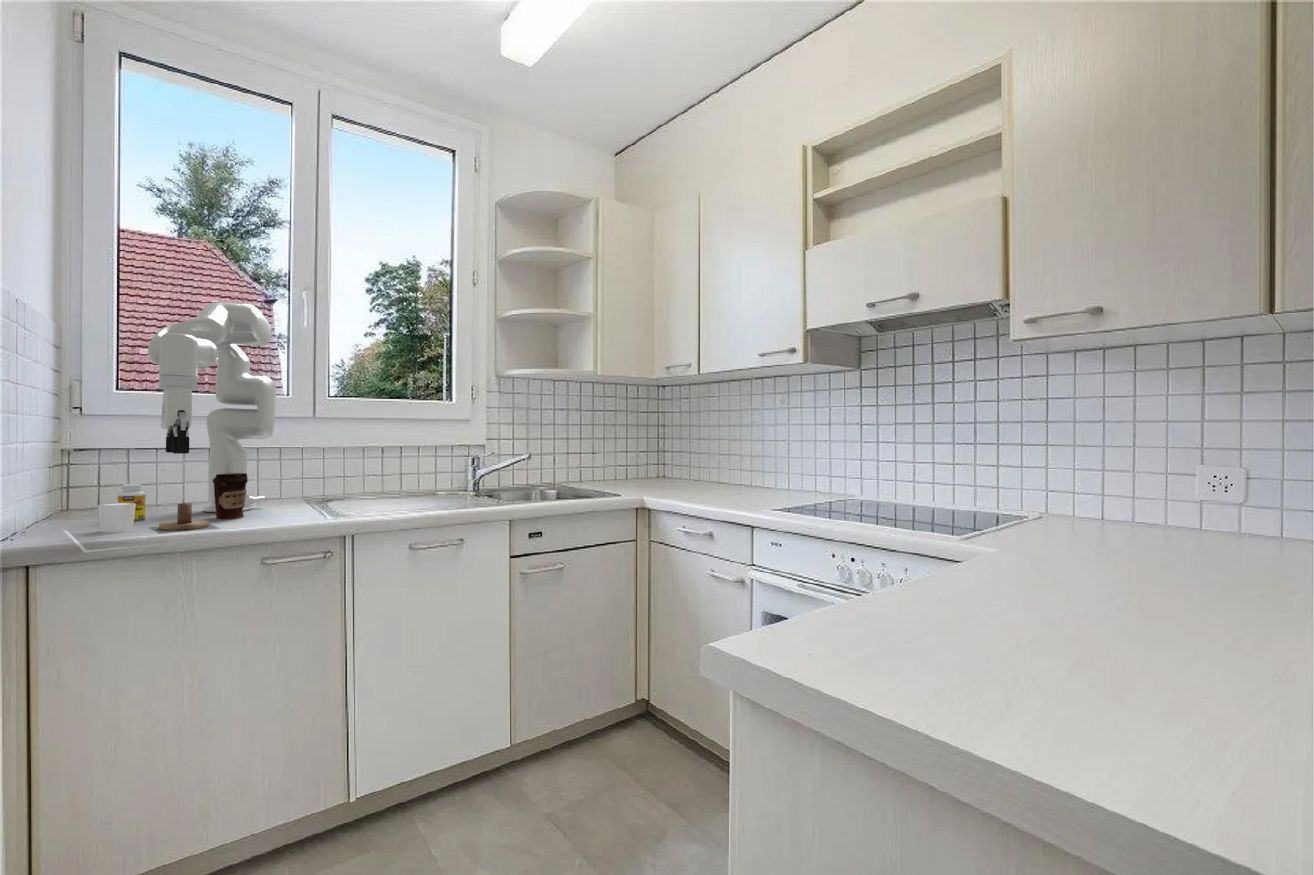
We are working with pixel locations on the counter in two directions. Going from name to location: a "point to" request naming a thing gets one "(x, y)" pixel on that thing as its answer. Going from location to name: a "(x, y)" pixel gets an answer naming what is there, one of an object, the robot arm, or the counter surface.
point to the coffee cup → (230, 495)
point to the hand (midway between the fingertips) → (177, 452)
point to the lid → (184, 520)
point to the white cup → (116, 517)
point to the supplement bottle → (134, 499)
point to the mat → (181, 531)
